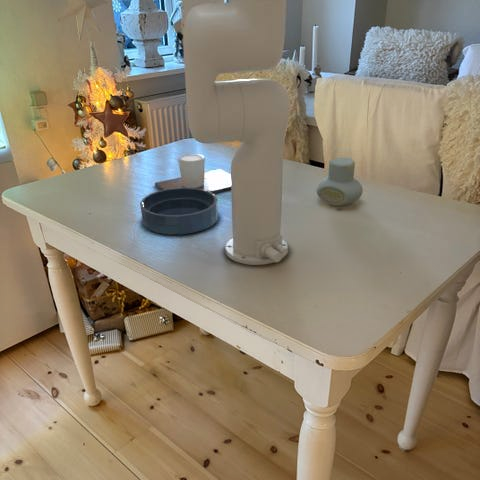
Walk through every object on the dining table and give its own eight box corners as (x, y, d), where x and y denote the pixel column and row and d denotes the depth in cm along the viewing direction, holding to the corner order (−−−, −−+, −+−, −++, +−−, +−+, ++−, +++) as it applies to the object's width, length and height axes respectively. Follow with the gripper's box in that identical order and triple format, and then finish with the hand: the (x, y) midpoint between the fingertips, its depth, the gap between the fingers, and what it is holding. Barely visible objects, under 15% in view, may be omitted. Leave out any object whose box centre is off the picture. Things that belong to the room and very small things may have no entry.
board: (245, 186, 130) (245, 183, 130) (177, 202, 122) (177, 198, 121) (219, 172, 140) (219, 169, 140) (155, 186, 132) (154, 182, 131)
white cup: (176, 187, 128) (173, 160, 124) (186, 179, 133) (183, 152, 129) (200, 189, 126) (199, 162, 122) (209, 181, 131) (208, 154, 127)
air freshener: (365, 200, 120) (371, 160, 115) (352, 212, 115) (357, 169, 109) (325, 192, 125) (328, 153, 120) (310, 203, 120) (313, 162, 114)
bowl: (231, 223, 111) (230, 204, 108) (161, 242, 103) (159, 222, 101) (196, 200, 123) (195, 182, 120) (131, 215, 116) (129, 197, 113)
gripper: (161, -20, 111) (168, 64, 121) (227, -22, 104) (229, 68, 114) (179, -21, 116) (185, 60, 126) (244, -22, 109) (245, 64, 119)
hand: (206, 64), depth 120 cm, fingers open, 9 cm apart
